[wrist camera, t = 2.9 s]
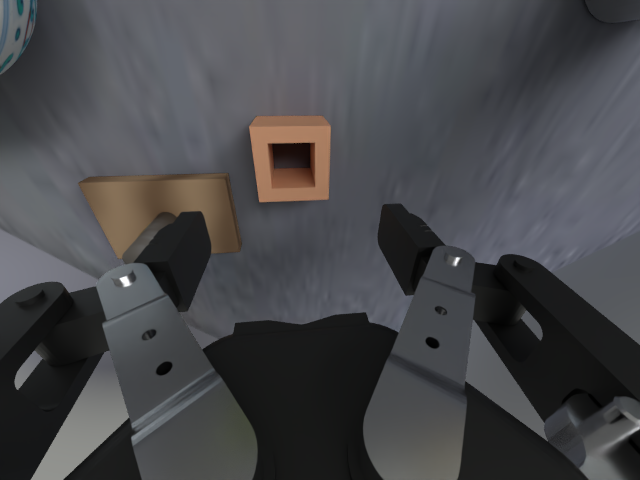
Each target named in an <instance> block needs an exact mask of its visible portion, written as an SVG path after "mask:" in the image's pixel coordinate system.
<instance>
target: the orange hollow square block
mask: <svg viewBox="0 0 640 480" xmlns="http://www.w3.org/2000/svg"><path fill="white" fill-rule="evenodd" d="M249 129H250V136H251V144H252V151H253V159H254V166H255V174H256V181H257V189H258V196H259V202H279V201H305V200H329V168H330V133H331V126H330V124H329V123H328V122H327V121H326V120H325V118H324V117H323V116H256V117H255V119H254V120H253V122H252V123H251V125H250V126H249ZM272 143H310V168H279V169H274V159H273V148H272Z"/></svg>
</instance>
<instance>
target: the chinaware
mask: <svg viewBox="0 0 640 480" xmlns="http://www.w3.org/2000/svg"><path fill="white" fill-rule="evenodd" d="M36 15H37V0H0V75H1V74H2V73H4V72H5V71H6V70H7V69H9V68H10V67H11V66H12V65H13V64H14V63H15V62H16V61H17V60H18V58H19V57H20V56H21V55H22V53H23V52H24V50H25V49H26V47H27V45H28V43H29V41H30V39H31V36H32V33H33V30H34V26H35V21H36Z"/></svg>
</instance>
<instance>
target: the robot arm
mask: <svg viewBox="0 0 640 480" xmlns="http://www.w3.org/2000/svg"><path fill="white" fill-rule="evenodd" d="M585 3H586V5H587V7H588V9H589V11H590V13H591V14H592V15H593V16H594V17H595V18H596V19H598V20H601V21H603V22H606V23H620V22H627V21H633V20H640V0H585ZM378 244H379V247H380V249H381V250H382V252H383V254H384V256H385V258H386V260H387V262H388V264H389V265H390V267H391V269H392V271H393V273H394V275H395V277H396V279H397V280H398V282H399V284H400V286H401V288H402V290H403V292H404V294H405V295H406V296H407V295H414V296H413V299H412V301H411V304H410V306H409V309H408V311H407V314H406V316H405V319H404V321H403V324H402V326H401V329H400V331H399V333H398V332H397V331H395V330H392V329H390V328H388V327H385V326H382V325H379V324H375V323H370V322H369V321H368V318H367V315H366V312H365V313H352V314H340V315H333V316H330V317H327V318H323V319H320V320H317V321H314V322H310V323H307V324H302V325H301V324H292V323H285V322H278V321H270V320H266V321H254V322H241V323H235V327H234V332H233V334H231V335H228V336H226V337H223V338H221V339H219V340H217V341H215V342H213V343H212V344H210V345H208V346H207V347H206V348H204V349H203V350H202V349H201V347H200V346H199V344H198V342H197V341H196V339H195V338H194V336H193V334H192V333H191V331H190V330H189V328H188V326H187V325H186V323H185V321H184V320H183V318H182V317H181V315H180V313H179V312H185V311H188V309H189V307H190V304H191V302H192V300H193V297H194V295H195V292H196V290H197V287H198V285H199V282H200V280H201V278H202V275H203V273H204V270H205V268H206V265H207V263H208V261H209V258H210V256H211V249H212V248H211V240H210V237H209V233H208V229H207V226H206V222H205V218H204V215H203V213H202V212H201V211H189V212H181V213H180V214H179V216H178V217H177V218H176V220H175V221H174V222H173V223H171V224H168V225H166V226H165V227H163V228H162V229H160V230H159V231H158V232H157V233H156V235H155V236H154V237H153V239H152V240H151V241H150V242H149V245H147V246H146V247H145V249H144V250H143V251H142V252H141V254H140V255H139V256H138V257H137V259H136V260H135V261H134V262H133V263H131V264H126V265H122V266H119V267H117V268H114V269H112V270H110V271H109V272H107V273H105V274H104V275H103V276H102V277H101V278H100V279H99V280H98V282H97V284H96V287H91V288H87V289H83V290H79V291H75V292H71V293H69V292H68V291H67V290H66V288H65V287H64V286H63V285H62V284H61V283H59V282H45V283H40V284H36V285H33V286H30V287H27V288H25V289H23V290H21V291H19V292H17V293H15V294H13V295H11V296H10V297H8V298H7V299H6V300H4V301H3V302H2V303H1V304H0V480H31V478H32V477H33V475H34V473H35V471H36V469H37V468H38V466H39V464H40V463H41V460H42V459H43V457H44V456H45V454H46V452H47V451H48V449H49V447H50V445H51V444H52V442H53V440H54V438H55V437H56V435H57V433H58V432H59V429H60V428H61V426H62V425H63V423H64V421H65V419H66V418H67V415H68V414H69V412H70V411H71V409H72V407H73V405H74V404H75V402H76V400H77V399H78V397H79V395H80V393H81V392H82V390H83V388H84V387H85V385H86V383H87V381H88V379H89V378H90V376H91V374H92V373H93V371H94V369H95V368H96V366H97V364H98V362H99V361H100V359H101V357H102V355H103V354H104V352H106V351H109V350H110V353H111V356H112V360H113V363H114V367H115V370H116V374H117V377H118V380H119V384H120V387H121V391H122V394H123V397H124V401H125V404H126V408H127V411H128V414H129V418H128V419H127V420H126V421H125V422H124V423H123V424H122V425H121V426H120V427H119V428H118V429H117V430H116V431H115V432H113V433H112V434H111V435H110V436H109V437H108V438H107V439H106V440H105V441H104V442H103V443H102V444H101V445H100V446H99V447H98V448H96V450H94V451H93V452H92V453H91V454H90V455H89V456H88V457H87V458H86V459H85V460H84V461H83V462H82V463H81V464H79V465H78V466H77V467H76V468H75V469H74V470H73V471H72V472H71V473H70V474H69V475H68V476H67V477H66V478H65V479H64V480H640V345H639V344H638V343H637V342H635V341H634V340H633V339H632V338H631V337H629V336H628V335H627V334H625V333H624V332H623V331H622V330H621V329H619V328H618V327H617V326H616V325H615V324H613V323H612V322H611V321H610V320H608V319H607V318H606V317H605V316H604V315H602V314H601V313H600V312H599V311H597V310H596V309H595V308H594V307H592V306H591V305H590V304H589V303H588V302H586V301H585V300H584V299H583V298H582V297H580V296H579V295H578V294H576V293H575V292H574V291H573V290H572V289H570V288H569V287H568V286H567V285H566V284H564V283H563V282H562V281H561V280H559V279H558V278H557V277H556V276H555V275H553V274H552V273H551V272H550V271H548V270H547V269H546V268H545V267H544V266H542V265H541V264H539V263H538V262H536V261H534V260H532V259H530V258H527V257H524V256H520V255H514V254H507V255H503V256H501V257H500V259H499V261H498V263H497V265H491V264H484V263H477V262H475V259H474V258H473V256H472V255H471V254H469V253H468V252H466V251H465V250H463V249H460V248H457V247H453V246H446V245H445V244H444V243H443V242H442V241H441V240H440V239H439V238H438V236H437V235H436V234H435V233H434V232H433V231H432V230H431V229H430V228H429V227H428V226H427V224H426V223H425V222H424V221H423V220H422V219H421V218H419V217H417V216H415V215H414V214H410V213H409V212H408V211H407V210H406V209H405V208H404V207H403V205H402V204H384V205H383V207H382V211H381V217H380V223H379V230H378ZM526 310H527V311H528V312H529V313H530V314H531V315H532V316H533V317H534V318H535V319H536V320H537V322H538V323H539V324H540V326H541V328H542V332H543V337H542V340H541V341H540V340H539V339H538V338H537V337H536V335H535V334H534V333H533V332H532V331H531V330H530V329H529V327H528V326H527V325H526V324H525V323H524V322H523V321H522V319H521V317H522V316H523V314H524V313H525V311H526ZM473 320H475V322H476V323H477V325H478V326H479V327H480V329H481V331H482V332H483V334H484V335H485V337H486V338H487V340H488V341H489V342H490V344H491V345H492V347H493V348H494V350H495V351H496V353H497V354H498V356H499V357H500V358H501V360H502V361H503V363H504V364H505V366H506V367H507V369H508V370H509V372H510V373H511V375H512V376H513V378H514V379H515V381H516V382H517V384H518V385H519V386H520V388H521V389H522V391H523V392H524V394H525V395H526V397H527V398H528V400H529V401H530V403H531V404H532V406H533V407H534V408H535V410H536V411H537V413H538V414H539V416H540V417H541V419H542V420H543V422H544V423H545V424H544V431H545V435H546V438H547V440H548V441H546V440H545V439H544V438H542V437H541V436H539V435H538V434H537V433H535V432H534V431H533V430H531V429H530V428H528V427H527V426H526V425H525V424H523V423H522V422H520V421H519V420H518V419H516V418H515V417H514V416H512V415H511V414H510V413H508V412H507V411H505V410H504V409H503V408H501V407H500V406H499V405H497V404H496V403H495V402H493V401H492V400H490V399H489V398H488V397H486V396H485V395H484V394H482V393H481V392H480V391H478V390H477V389H476V388H474V387H473V386H471V385H470V384H468V383H467V382H466V381H465V379H466V371H467V363H468V354H469V346H470V338H471V329H472V322H473ZM34 350H35V351H36V352H37V353H38V354H39V355H40V356H41V357H42V358H43V359H42V360H41V361H40V363H39V364H38V365H37V367H36V368H35V369H34V370H33V372H32V373H31V374H30V376H29V377H28V378H27V379H26V381H25V382H24V383H23V385H22V386H21V387H20V388H19V390H17V389H16V387H15V384H14V380H15V376H16V373H17V371H18V370H19V368H20V367H21V366H22V364H23V363H24V362H25V361H26V360H27V358H28V357H29V356H30V355H31V354H32V352H33V351H34Z"/></svg>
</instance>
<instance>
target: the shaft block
mask: <svg viewBox="0 0 640 480" xmlns="http://www.w3.org/2000/svg"><path fill="white" fill-rule="evenodd" d="M78 184H79V186H80V188H81V190H82V192H83V194H84V196H85V197H86V199H87V201H88V203H89V205H90V207H91V209H92V211H93V212H94V214H95V216H96V218H97V220H98V222H99V224H100V225H101V227H102V229H103V231H104V233H105V235H106V237H107V239H108V240H109V242H110V244H111V246H112V248H113V250H114V252H115V254H116V255H117V257H118V259H123V261H124V263H125V264H131V263H133V262H134V261H135V260H136V259H137V257H138V256H139V255H140V254H141V252H142V251H143V250H144V249H145V247H146V246H147V245H149V242H150V241H151V240H152V239H153V237H154V236H155V235H156V233H157V232H158V231H159V230H160V229H162V228H163V227H165V226H166V225H168V224H171V223H173V222H174V221H175V220H176V218H177V217H178V216H179V214H180V213H181V212H189V211H201V212H202V213H203V215H204V218H205V222H206V226H207V229H208V233H209V237H210V240H211V248H212V249H211V254H212V253H229V252H240V249H241V245H242V242H241V237H240V232H239V227H238V222H237V216H236V211H235V206H234V201H233V196H232V191H231V185H230V180H229V175H228V173H213V174H177V175H142V176H106V177H88V178H86V179H84V180H83V181H81V182H79V183H78Z"/></svg>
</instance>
